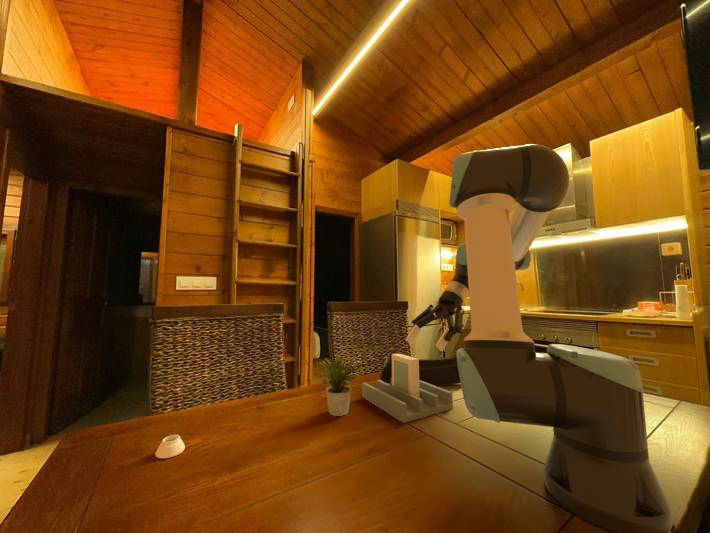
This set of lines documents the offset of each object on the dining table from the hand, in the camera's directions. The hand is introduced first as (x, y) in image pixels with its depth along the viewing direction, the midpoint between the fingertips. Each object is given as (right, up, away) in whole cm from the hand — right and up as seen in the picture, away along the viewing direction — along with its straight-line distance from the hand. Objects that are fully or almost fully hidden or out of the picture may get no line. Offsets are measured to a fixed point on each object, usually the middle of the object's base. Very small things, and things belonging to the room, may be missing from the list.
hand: (422, 345), depth 90 cm
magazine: (+3, -18, +10) cm, 21 cm away
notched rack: (-7, -16, -6) cm, 18 cm away
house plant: (-26, -15, -14) cm, 34 cm away
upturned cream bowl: (-60, -13, -32) cm, 69 cm away
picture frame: (-6, -14, -6) cm, 17 cm away
